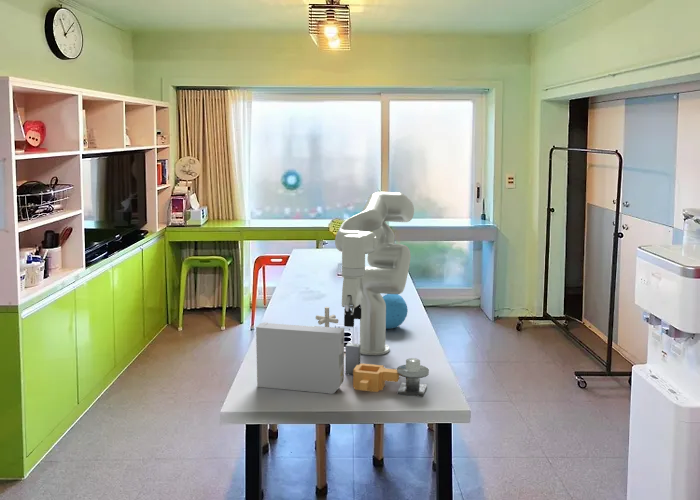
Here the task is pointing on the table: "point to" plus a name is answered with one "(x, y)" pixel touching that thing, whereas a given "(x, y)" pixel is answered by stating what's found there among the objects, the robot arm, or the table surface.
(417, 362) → the grey disc with stub
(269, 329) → the game console
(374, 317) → the robot arm
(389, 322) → the blue ball
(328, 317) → the pipe connector
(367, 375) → the bracket head
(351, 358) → the rectangular block
